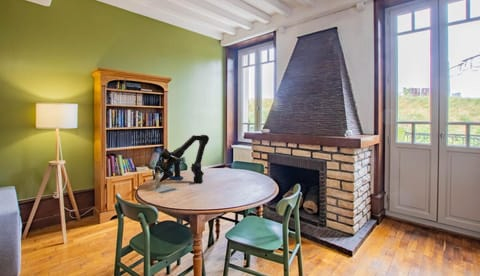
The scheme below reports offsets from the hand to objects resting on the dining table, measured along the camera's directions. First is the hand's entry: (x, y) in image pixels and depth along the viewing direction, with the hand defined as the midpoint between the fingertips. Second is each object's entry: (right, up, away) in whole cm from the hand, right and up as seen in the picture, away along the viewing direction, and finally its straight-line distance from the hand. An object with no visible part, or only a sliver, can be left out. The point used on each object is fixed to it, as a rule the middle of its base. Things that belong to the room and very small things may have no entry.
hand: (156, 180), depth 192 cm
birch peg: (+1, -5, +1) cm, 6 cm away
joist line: (+10, -6, -7) cm, 14 cm away
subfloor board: (+6, -7, -2) cm, 10 cm away
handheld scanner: (+7, -4, +32) cm, 33 cm away
